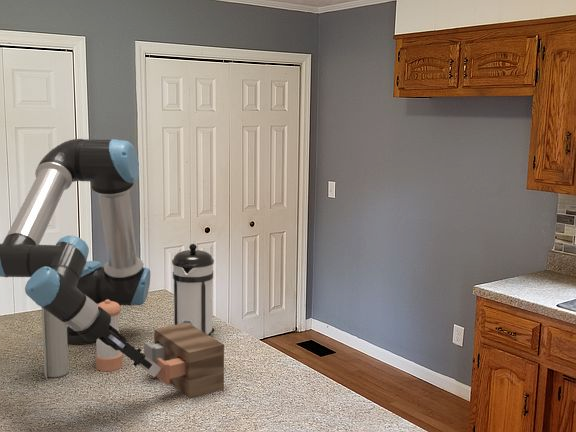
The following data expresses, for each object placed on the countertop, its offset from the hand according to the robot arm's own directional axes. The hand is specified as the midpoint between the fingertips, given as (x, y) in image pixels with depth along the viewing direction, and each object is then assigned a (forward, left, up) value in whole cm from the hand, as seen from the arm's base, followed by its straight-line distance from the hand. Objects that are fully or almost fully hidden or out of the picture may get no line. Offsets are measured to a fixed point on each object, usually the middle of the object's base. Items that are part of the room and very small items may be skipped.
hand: (156, 371), depth 155 cm
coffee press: (-35, +29, -7) cm, 46 cm away
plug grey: (-12, +10, -3) cm, 16 cm away
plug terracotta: (0, +8, -3) cm, 9 cm away
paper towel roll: (-29, -16, -7) cm, 34 cm away
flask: (-22, +20, -8) cm, 31 cm away
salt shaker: (-26, -2, -7) cm, 27 cm away
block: (-6, +12, -7) cm, 15 cm away
